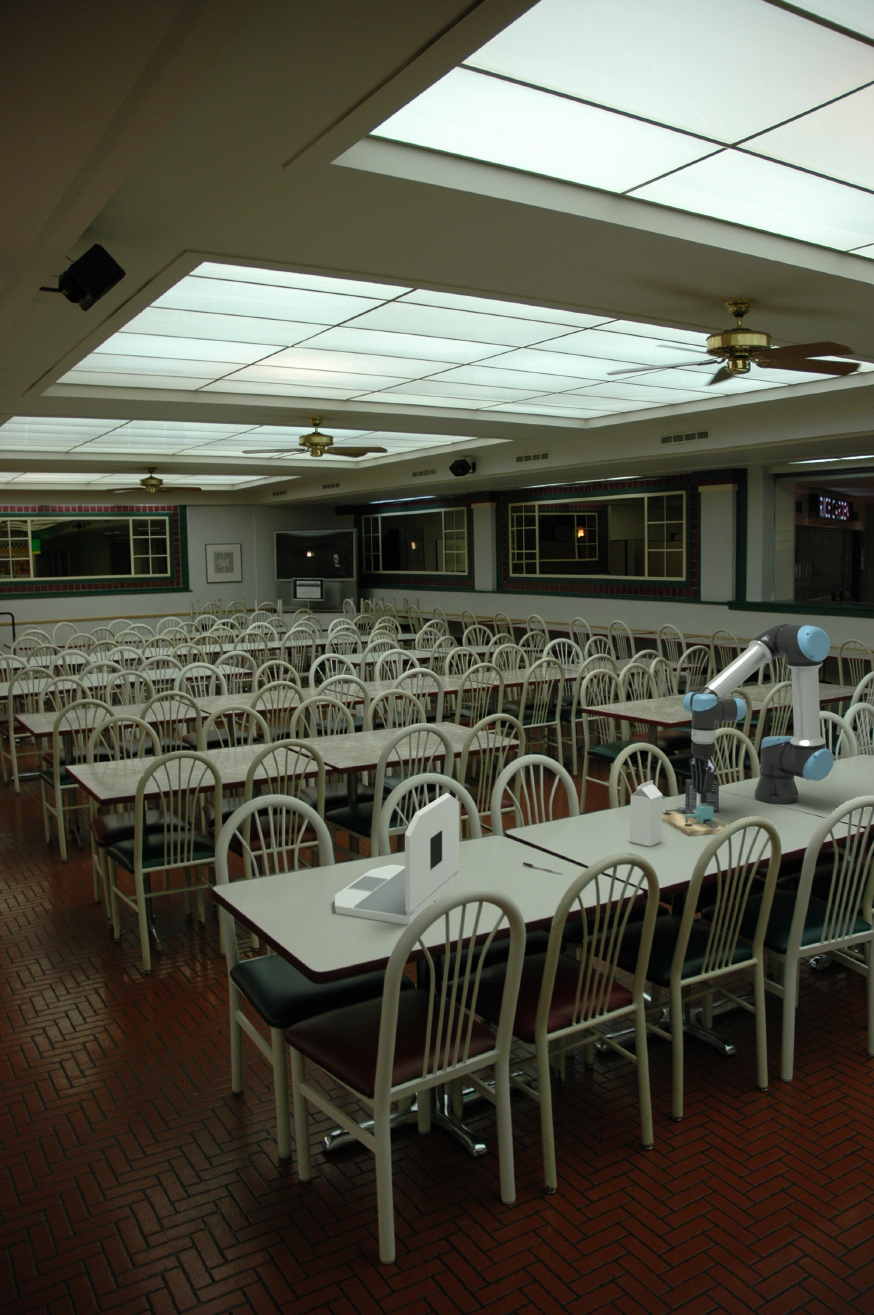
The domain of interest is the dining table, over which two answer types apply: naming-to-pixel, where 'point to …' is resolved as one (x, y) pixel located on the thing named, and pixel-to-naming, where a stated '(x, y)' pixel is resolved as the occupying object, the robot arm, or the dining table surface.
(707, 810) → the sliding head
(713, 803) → the small box
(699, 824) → the board
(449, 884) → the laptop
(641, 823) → the milk carton
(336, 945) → the dining table surface
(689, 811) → the beam
